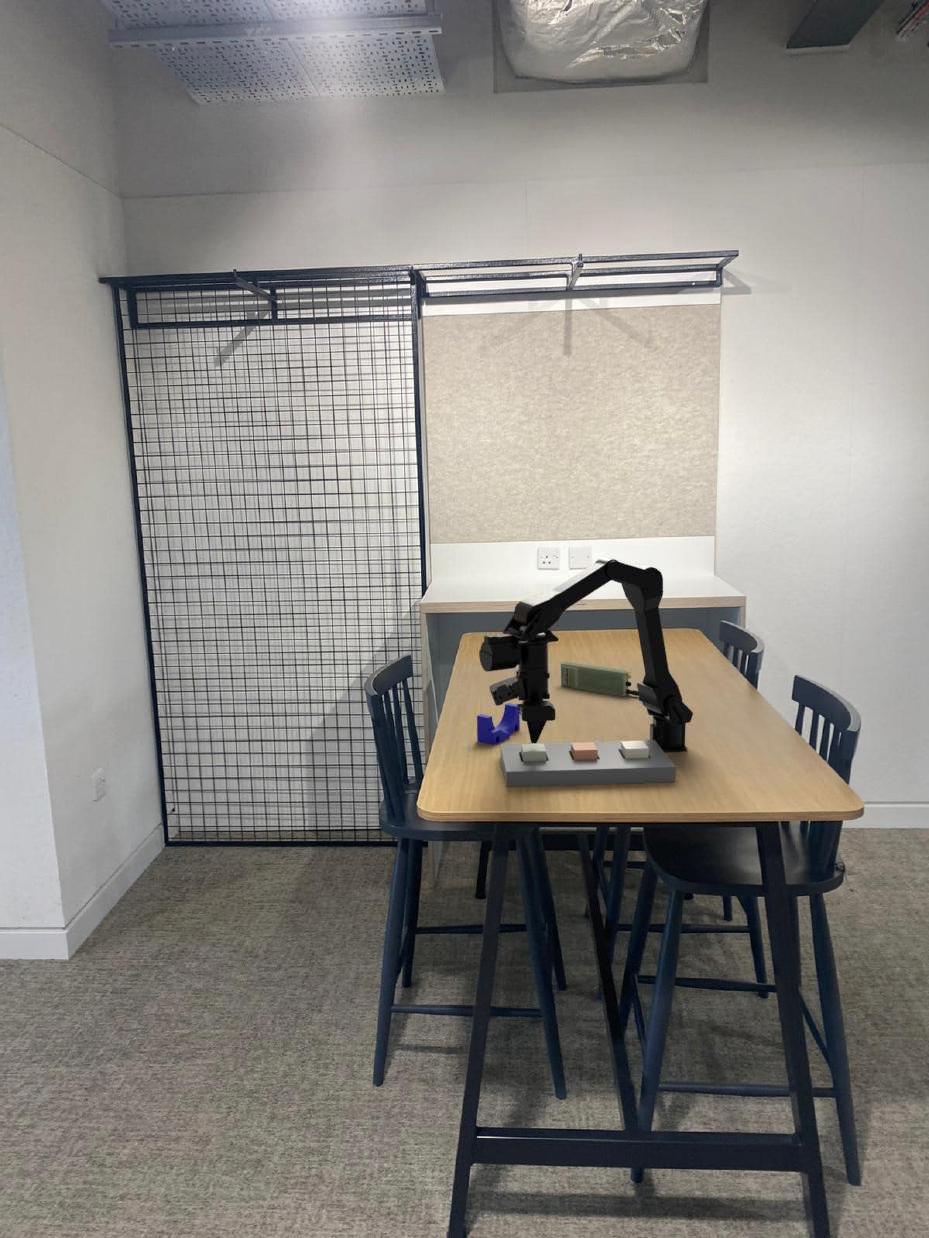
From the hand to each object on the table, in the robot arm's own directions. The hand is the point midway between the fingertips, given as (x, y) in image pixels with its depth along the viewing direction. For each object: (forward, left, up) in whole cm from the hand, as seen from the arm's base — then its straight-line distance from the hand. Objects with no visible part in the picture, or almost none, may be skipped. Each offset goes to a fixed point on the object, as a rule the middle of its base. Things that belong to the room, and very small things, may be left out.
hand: (533, 742), depth 169 cm
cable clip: (+5, -22, -6) cm, 24 cm away
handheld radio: (-25, -57, -6) cm, 62 cm away
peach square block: (-10, 0, -3) cm, 10 cm away
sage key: (0, 0, -3) cm, 3 cm away
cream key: (-20, 0, -3) cm, 20 cm away
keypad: (-10, 0, -6) cm, 11 cm away
